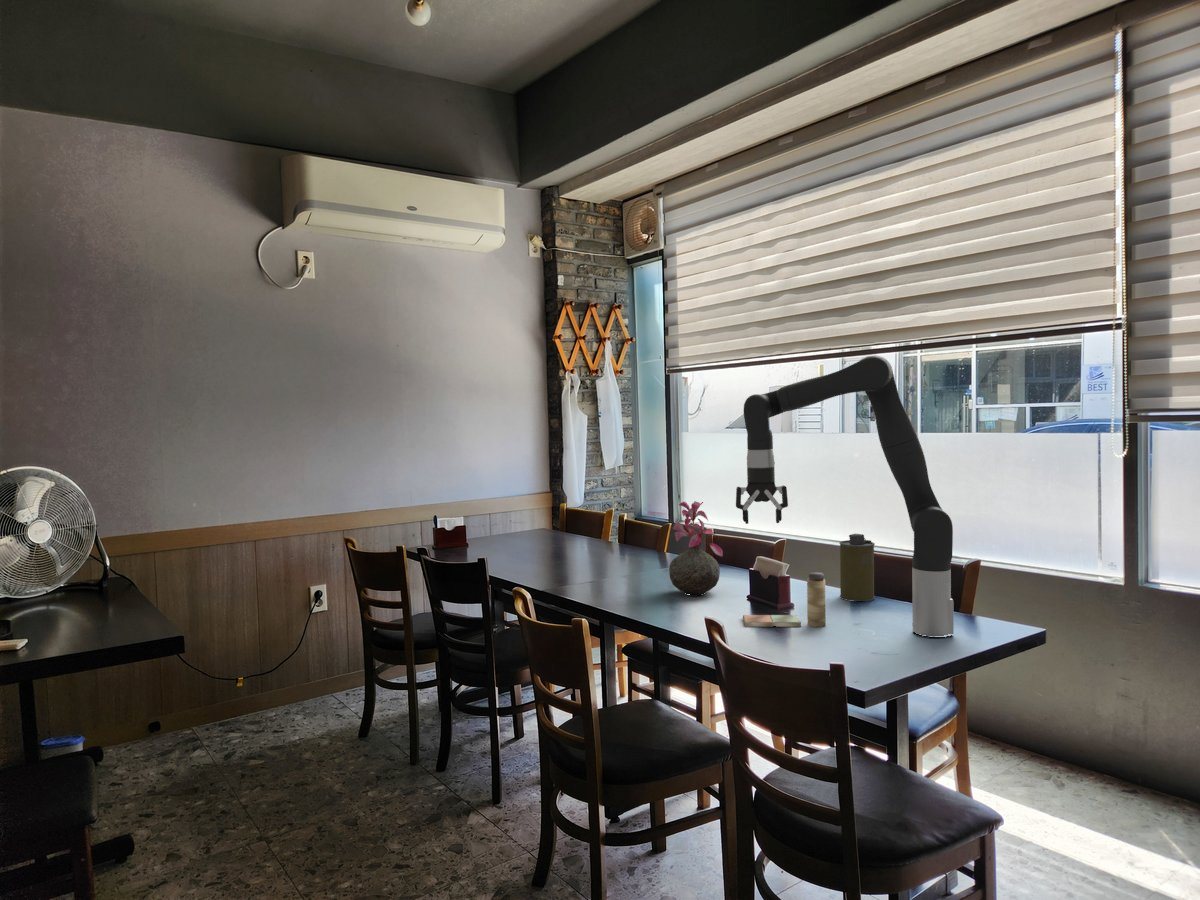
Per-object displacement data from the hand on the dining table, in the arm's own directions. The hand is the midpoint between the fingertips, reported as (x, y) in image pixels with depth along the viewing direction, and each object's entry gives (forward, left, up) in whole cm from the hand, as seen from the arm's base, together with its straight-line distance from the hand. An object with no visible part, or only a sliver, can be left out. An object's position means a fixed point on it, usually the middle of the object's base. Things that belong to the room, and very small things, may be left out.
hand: (762, 523), depth 222 cm
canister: (-32, -27, -28) cm, 50 cm away
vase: (+18, -32, -28) cm, 46 cm away
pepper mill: (-14, +5, -28) cm, 31 cm away
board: (-2, +3, -28) cm, 28 cm away
